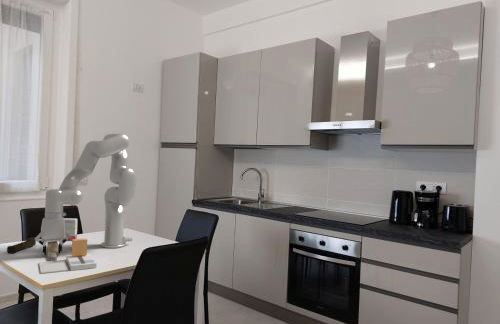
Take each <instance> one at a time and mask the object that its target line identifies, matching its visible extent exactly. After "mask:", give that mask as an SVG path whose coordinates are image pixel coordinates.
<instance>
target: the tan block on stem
mask: <svg viewBox="0 0 500 324" xmlns="http://www.w3.org/2000/svg"><path fill="white" fill-rule="evenodd" d="M58 245H59V243H58V241H57V240H55V241H54V240H51V241H47V243H46V247H47V248H46V255H47V258H50V261H58V254H59V253H58Z"/></svg>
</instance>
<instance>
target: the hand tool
mask: <svg viewBox="0 0 500 324" xmlns="http://www.w3.org/2000/svg"><path fill="white" fill-rule="evenodd" d="M35 238H36V237H35V236H31V237H28V238H26V240H24V241H22V242H19V243H15V244H13V245H8V246H7V248H6V253H7V254H13V255H14V254H15V253H17V252H19V251H22V250H24V249H26V248H33V247H34V246H35V245H36V244H37V241H36V240H35Z"/></svg>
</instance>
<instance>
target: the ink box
mask: <svg viewBox="0 0 500 324" xmlns="http://www.w3.org/2000/svg"><path fill="white" fill-rule="evenodd" d="M63 218H64V220H65V231H66V233H67V234H68V235H69V236H70V238H69V239H68V240H67V241H71V242H72V239H78V238H77V235H78V218H71V217H70V218H67V217H66V218H65V217H63ZM65 238H66V236H65ZM65 238H63V239H65ZM63 239H62V240H63ZM67 241H66V242H67Z"/></svg>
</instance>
